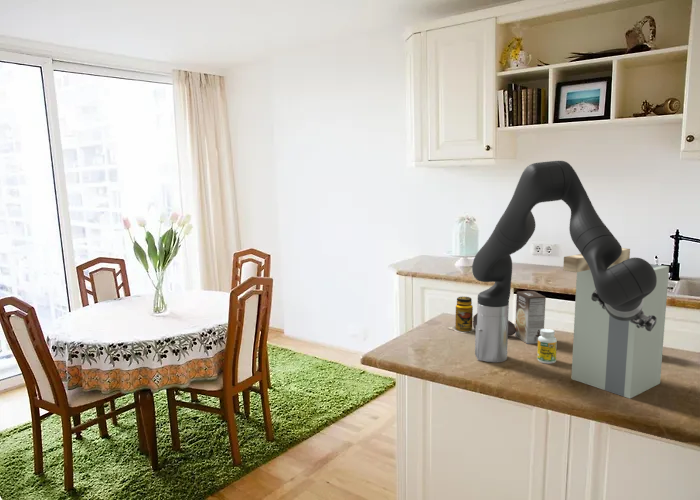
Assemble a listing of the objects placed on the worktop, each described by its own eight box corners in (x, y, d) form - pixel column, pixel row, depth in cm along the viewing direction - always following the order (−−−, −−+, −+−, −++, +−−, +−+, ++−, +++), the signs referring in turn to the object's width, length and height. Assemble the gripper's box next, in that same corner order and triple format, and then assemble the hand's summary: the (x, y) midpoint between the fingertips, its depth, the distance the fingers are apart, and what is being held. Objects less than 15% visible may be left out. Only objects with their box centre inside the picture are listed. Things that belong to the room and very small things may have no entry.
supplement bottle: (555, 358, 160) (556, 328, 159) (556, 364, 155) (558, 333, 153) (536, 357, 162) (537, 327, 160) (537, 363, 156) (538, 332, 155)
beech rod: (576, 272, 129) (576, 258, 129) (563, 270, 132) (563, 256, 132) (629, 261, 144) (630, 248, 144) (616, 259, 147) (617, 247, 146)
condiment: (464, 333, 186) (464, 301, 184) (446, 328, 193) (447, 296, 191) (477, 330, 190) (478, 298, 188) (460, 324, 197) (461, 293, 195)
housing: (629, 398, 131) (638, 273, 127) (571, 378, 144) (577, 264, 140) (660, 383, 140) (669, 266, 136) (602, 366, 153) (608, 258, 149)
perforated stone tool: (518, 336, 182) (518, 317, 181) (512, 340, 178) (513, 320, 177) (477, 329, 191) (477, 310, 190) (471, 332, 187) (472, 314, 186)
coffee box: (514, 335, 183) (515, 291, 180) (531, 334, 184) (532, 290, 181) (526, 344, 174) (528, 297, 171) (544, 343, 175) (546, 296, 172)
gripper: (666, 303, 109) (661, 317, 123) (601, 269, 117) (602, 286, 131) (646, 332, 109) (643, 343, 123) (582, 297, 117) (586, 311, 131)
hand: (622, 314), depth 127 cm, fingers open, 8 cm apart
